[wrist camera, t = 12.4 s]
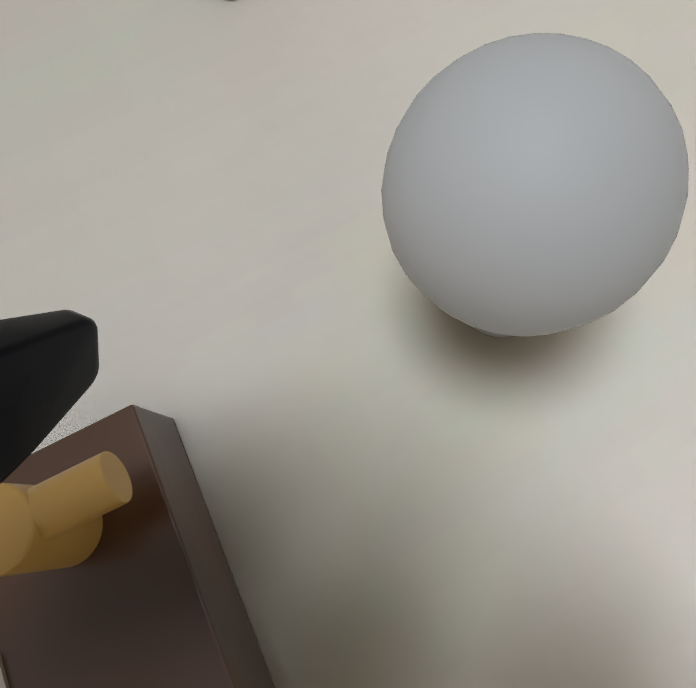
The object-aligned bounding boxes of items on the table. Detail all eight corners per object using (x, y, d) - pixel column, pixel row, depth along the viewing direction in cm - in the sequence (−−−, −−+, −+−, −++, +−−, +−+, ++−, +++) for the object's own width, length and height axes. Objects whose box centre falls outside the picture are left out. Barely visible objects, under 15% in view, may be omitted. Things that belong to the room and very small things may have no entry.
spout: (176, 517, 18) (117, 518, 15) (47, 580, 18) (-39, 594, 15) (150, 446, 19) (88, 432, 16) (25, 508, 19) (-61, 506, 16)
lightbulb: (591, 219, 22) (726, -61, 11) (599, 401, 20) (767, 276, 10) (407, 223, 23) (372, -32, 12) (402, 397, 21) (358, 279, 11)
